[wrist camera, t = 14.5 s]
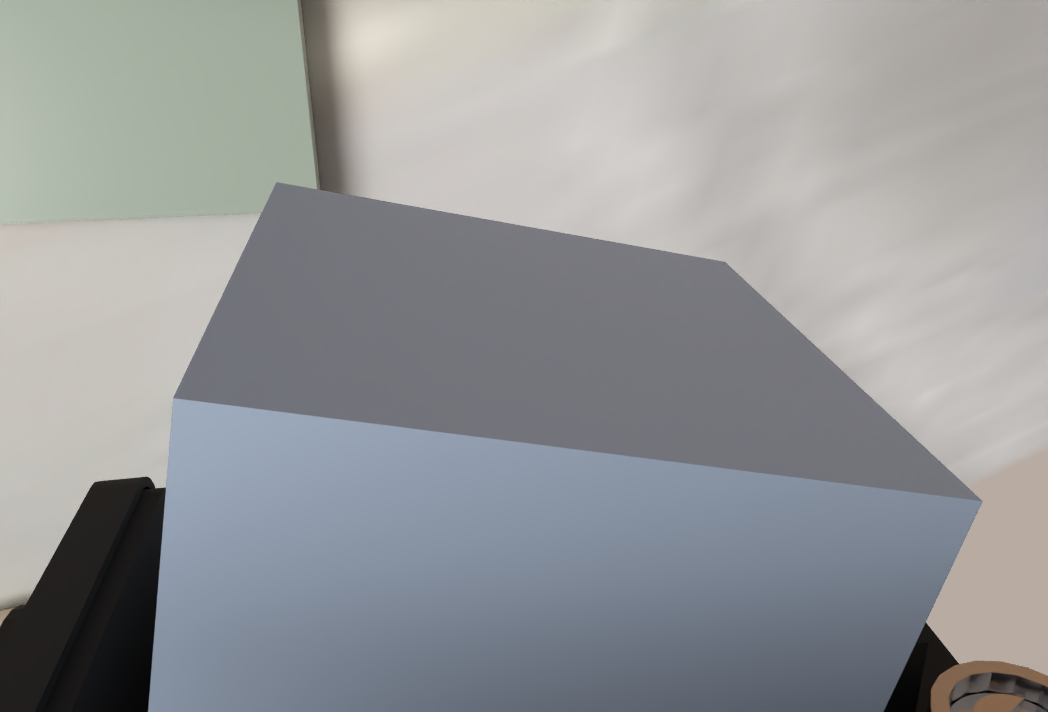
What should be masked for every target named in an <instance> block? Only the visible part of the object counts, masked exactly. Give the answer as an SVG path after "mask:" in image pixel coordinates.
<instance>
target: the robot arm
mask: <svg viewBox="0 0 1048 712" xmlns="http://www.w3.org/2000/svg"><path fill="white" fill-rule="evenodd" d="M165 494H166V488H156V489H155V486H154V484H153V482H152V480H151V479H150V478H149V477H139V478H129V479H119V480H108V481H98V482H95V483H94V484H93V485H92V486H91V488H90V490H89V491H88V493H87V495H86V497H85V499H84V500H83V502H82V504H81V506H80V508H79V510H78V511H77V513H76V515H75V517H74V519H73V520H72V522H71V524H70V526H69V528H68V530H67V531H66V533H65V535H64V537H63V539H62V540H61V542H60V544H59V546H58V548H57V550H56V551H55V553H54V555H53V557H52V559H51V560H50V562H49V564H48V566H47V568H46V570H45V571H44V573H43V575H42V577H41V579H40V580H39V582H38V584H37V586H36V588H35V590H34V591H33V593H32V595H31V597H30V599H29V600H28V602H27V604H26V605H20V606H18V607H16V608H14V609H12V610H11V611H10V613H9V614H8V615H7V616H6V618H5V619H4V620H3V622H2V624H1V626H0V712H148V706H149V694H150V681H151V669H152V656H153V644H154V631H155V619H156V607H157V594H158V582H159V569H160V557H161V544H162V532H163V519H164V507H165ZM884 712H1048V676H1047V675H1044V674H1042V673H1039V672H1037V671H1034V670H1032V669H1029V668H1027V667H1023V666H1018V665H1013V664H1009V663H1005V662H999V661H972V662H968V663H963V664H959V663H958V662H957V661H956V660H955V658H954V657H953V656H952V655H951V653H950V652H949V651H948V650H947V649H946V647H945V646H944V645H943V643H942V642H941V641H940V640H939V638H938V637H937V636H936V635H935V633H934V632H933V631H932V630H931V628H930V627H929V626H928V625H927V623H925V625H924V627H923V629H922V631H921V633H920V635H919V637H918V639H917V642H916V644H915V646H914V648H913V650H912V652H911V654H910V656H909V659H908V661H907V663H906V665H905V667H904V669H903V671H902V673H901V676H900V678H899V680H898V682H897V684H896V686H895V688H894V690H893V693H892V695H891V697H890V699H889V701H888V703H887V705H886V707H885V709H884Z"/></svg>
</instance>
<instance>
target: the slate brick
mask: <svg viewBox="0 0 1048 712" xmlns="http://www.w3.org/2000/svg"><path fill="white" fill-rule="evenodd" d="M981 504H982V500H981V499H979V498H978V497H977V496H976V495H975V494H974V493H973V492H972V491H971V490H970V489H969V488H968V487H967V486H966V485H965V484H963V483H962V482H961V481H960V480H959V479H958V478H957V477H956V476H955V475H954V474H953V473H952V472H951V471H949V470H948V469H947V468H946V467H945V466H944V465H943V464H942V463H941V462H940V461H939V460H938V459H937V458H935V457H934V456H933V455H932V454H931V453H930V452H929V451H928V450H927V449H926V448H925V447H924V446H923V445H921V444H920V443H919V442H918V441H917V440H916V439H915V438H914V437H913V436H912V435H911V434H910V433H909V432H907V431H906V430H905V429H904V428H903V427H902V426H901V425H900V424H899V423H898V422H897V421H896V420H895V419H893V418H892V417H891V416H890V415H889V414H888V413H887V412H886V411H885V410H884V409H883V408H882V407H881V406H879V405H878V404H877V403H876V402H875V401H874V400H873V399H872V398H871V397H870V396H869V395H868V394H867V393H865V392H864V391H863V390H862V389H861V388H860V387H859V386H858V385H857V384H856V383H855V382H854V381H853V380H851V379H850V378H849V377H848V376H847V375H846V374H845V373H844V372H843V371H842V370H841V369H840V368H839V367H837V366H836V365H835V364H834V363H833V362H832V361H831V360H830V359H829V358H828V357H827V356H826V355H825V354H823V353H822V352H821V351H820V350H819V349H818V348H817V347H816V346H815V345H814V344H813V343H812V342H811V341H809V340H808V339H807V338H806V337H805V336H804V335H803V334H802V333H801V332H800V331H799V330H798V329H797V328H795V327H794V326H793V325H792V324H791V323H790V322H789V321H788V320H787V319H786V318H785V317H784V316H783V315H781V314H780V313H779V312H778V311H777V310H776V309H775V308H774V307H773V306H772V305H771V304H770V303H769V302H767V301H766V300H765V299H764V298H763V297H762V296H761V295H760V294H759V293H758V292H757V291H756V290H755V289H753V288H752V287H751V286H750V285H749V284H748V283H747V282H746V281H745V280H744V279H743V278H742V277H741V276H739V275H738V274H737V273H736V272H735V271H734V270H733V269H732V268H731V267H730V266H729V265H728V264H727V263H725V262H722V261H717V260H711V259H705V258H700V257H694V256H688V255H683V254H677V253H672V252H666V251H660V250H655V249H649V248H644V247H638V246H632V245H627V244H621V243H616V242H610V241H604V240H599V239H593V238H587V237H582V236H576V235H571V234H565V233H559V232H554V231H548V230H543V229H537V228H531V227H526V226H520V225H514V224H509V223H503V222H498V221H492V220H486V219H481V218H475V217H470V216H464V215H458V214H453V213H447V212H442V211H436V210H430V209H425V208H419V207H413V206H408V205H402V204H397V203H391V202H385V201H380V200H374V199H369V198H363V197H357V196H352V195H346V194H341V193H335V192H329V191H324V190H318V189H312V188H307V187H301V186H296V185H290V184H284V183H279V182H276V184H275V186H274V188H273V190H272V192H271V194H270V196H269V199H268V201H267V203H266V205H265V207H264V209H263V211H262V213H261V215H260V217H259V220H258V222H257V224H256V226H255V228H254V230H253V232H252V234H251V236H250V238H249V240H248V243H247V245H246V247H245V249H244V251H243V253H242V255H241V257H240V259H239V261H238V264H237V266H236V268H235V270H234V272H233V274H232V276H231V278H230V280H229V282H228V284H227V287H226V289H225V291H224V293H223V295H222V297H221V299H220V301H219V303H218V305H217V308H216V310H215V312H214V314H213V316H212V318H211V320H210V322H209V324H208V326H207V328H206V331H205V333H204V335H203V337H202V339H201V341H200V343H199V345H198V347H197V349H196V351H195V354H194V356H193V358H192V360H191V362H190V364H189V366H188V368H187V370H186V372H185V375H184V377H183V379H182V381H181V383H180V385H179V387H178V389H177V391H176V393H175V395H174V398H173V407H172V420H171V432H170V444H169V457H168V469H167V482H166V494H165V507H164V519H163V532H162V544H161V557H160V569H159V582H158V594H157V607H156V619H155V631H154V644H153V656H152V669H151V681H150V694H149V706H148V712H884V709H885V707H886V705H887V703H888V701H889V699H890V697H891V695H892V693H893V690H894V688H895V686H896V684H897V682H898V680H899V678H900V676H901V673H902V671H903V669H904V667H905V665H906V663H907V661H908V659H909V656H910V654H911V652H912V650H913V648H914V646H915V644H916V642H917V639H918V637H919V635H920V633H921V631H922V629H923V627H924V625H925V623H926V620H927V618H928V616H929V614H930V612H931V610H932V608H933V606H934V603H935V601H936V599H937V597H938V595H939V593H940V591H941V588H942V586H943V584H944V582H945V580H946V578H947V576H948V574H949V572H950V570H951V567H952V565H953V563H954V561H955V559H956V557H957V555H958V553H959V550H960V548H961V546H962V544H963V542H964V540H965V538H966V535H967V533H968V531H969V529H970V527H971V525H972V523H973V520H974V519H975V516H976V514H977V512H978V510H979V508H980V506H981Z"/></svg>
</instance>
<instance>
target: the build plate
mask: <svg viewBox="0 0 1048 712" xmlns="http://www.w3.org/2000/svg"><path fill="white" fill-rule="evenodd" d="M276 182H279V183H284V184H290V185H296V186H301V187H307V188H312V189H318V190H321V189H320V179H319V169H318V160H317V150H316V141H315V131H314V121H313V112H312V102H311V93H310V83H309V73H308V64H307V54H306V44H305V35H304V25H303V16H302V6H301V0H0V224H18V223H42V222H65V221H88V220H111V219H134V218H158V217H181V216H204V215H227V214H251V213H262V211H263V209H264V207H265V205H266V203H267V201H268V199H269V196H270V194H271V192H272V190H273V188H274V186H275V184H276Z"/></svg>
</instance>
